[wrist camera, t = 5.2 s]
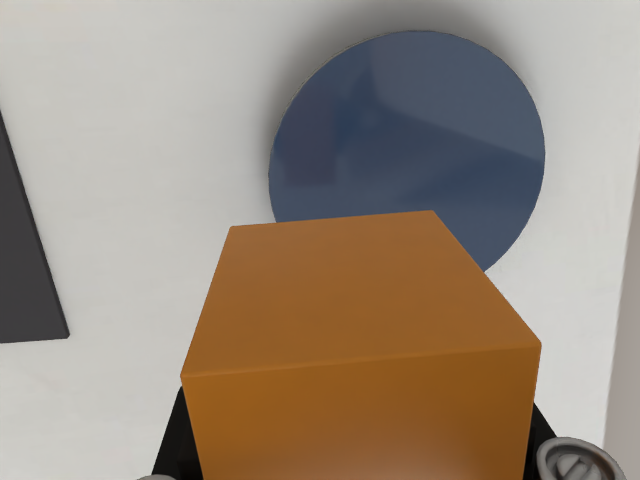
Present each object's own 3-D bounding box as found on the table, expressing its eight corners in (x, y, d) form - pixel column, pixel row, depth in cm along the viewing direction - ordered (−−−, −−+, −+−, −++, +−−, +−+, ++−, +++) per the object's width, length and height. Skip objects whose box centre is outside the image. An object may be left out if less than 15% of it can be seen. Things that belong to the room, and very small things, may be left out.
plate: (255, 39, 24) (253, 39, 22) (549, 22, 24) (565, 21, 23) (281, 298, 30) (280, 311, 28) (517, 281, 30) (527, 293, 29)
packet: (229, 225, 10) (177, 375, 6) (433, 208, 10) (543, 342, 6) (269, 485, 13) (256, 716, 9) (425, 470, 14) (493, 692, 9)
